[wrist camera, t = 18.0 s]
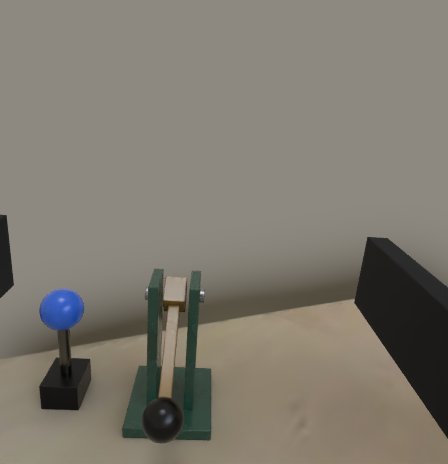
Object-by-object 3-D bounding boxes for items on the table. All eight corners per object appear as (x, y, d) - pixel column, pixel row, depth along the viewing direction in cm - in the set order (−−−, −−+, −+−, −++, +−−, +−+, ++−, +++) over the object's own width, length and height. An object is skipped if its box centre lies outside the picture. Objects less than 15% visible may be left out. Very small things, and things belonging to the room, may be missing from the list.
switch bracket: (210, 440, 42) (221, 305, 37) (122, 437, 41) (121, 300, 36) (210, 376, 51) (219, 261, 46) (138, 373, 51) (139, 257, 46)
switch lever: (182, 447, 35) (182, 439, 32) (140, 446, 35) (136, 438, 32) (193, 291, 44) (193, 274, 41) (160, 289, 44) (158, 272, 41)
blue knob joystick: (92, 379, 49) (89, 281, 45) (80, 410, 44) (74, 303, 40) (56, 378, 49) (48, 279, 44) (39, 408, 44) (29, 301, 40)
